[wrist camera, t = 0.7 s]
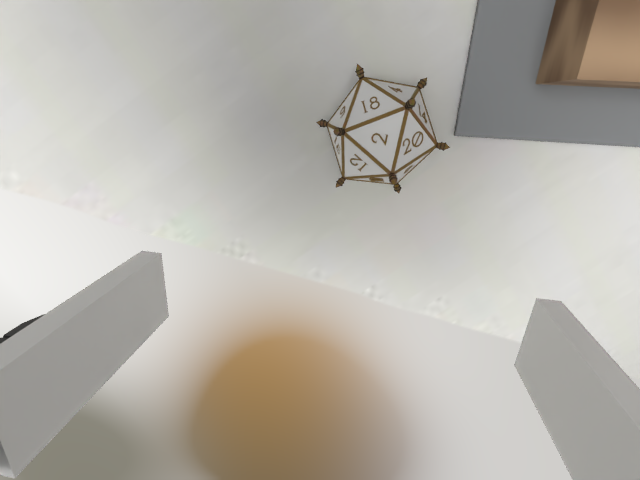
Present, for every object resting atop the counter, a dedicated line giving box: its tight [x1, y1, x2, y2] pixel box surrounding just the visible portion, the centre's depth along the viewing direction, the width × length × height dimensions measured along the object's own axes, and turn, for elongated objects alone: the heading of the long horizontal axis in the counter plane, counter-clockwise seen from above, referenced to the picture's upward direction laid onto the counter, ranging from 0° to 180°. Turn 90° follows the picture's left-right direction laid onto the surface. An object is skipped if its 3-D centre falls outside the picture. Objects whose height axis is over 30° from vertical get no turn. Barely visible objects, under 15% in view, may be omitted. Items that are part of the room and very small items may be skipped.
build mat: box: [454, 0, 640, 147], centre depth 25 cm, size 18×18×1 cm
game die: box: [317, 64, 450, 193], centre depth 26 cm, size 9×8×10 cm
